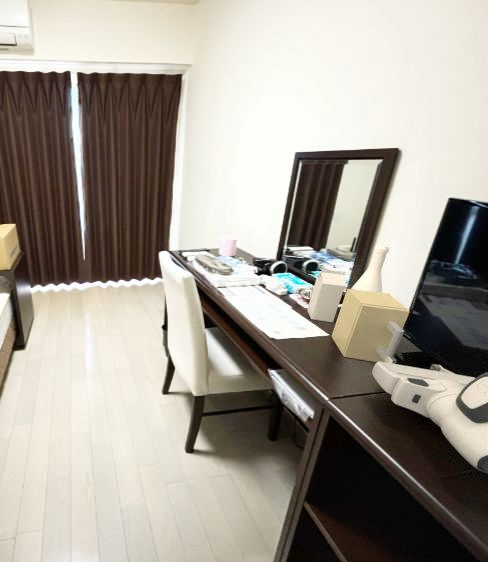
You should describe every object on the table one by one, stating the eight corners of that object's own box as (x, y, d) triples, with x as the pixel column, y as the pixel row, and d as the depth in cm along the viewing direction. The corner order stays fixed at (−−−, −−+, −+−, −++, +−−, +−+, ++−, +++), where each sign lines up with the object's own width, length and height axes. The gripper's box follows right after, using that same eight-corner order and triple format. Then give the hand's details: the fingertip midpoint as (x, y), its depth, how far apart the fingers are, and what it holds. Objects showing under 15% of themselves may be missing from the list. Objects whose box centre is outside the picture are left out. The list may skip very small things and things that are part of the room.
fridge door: (396, 375, 86) (421, 320, 79) (350, 367, 89) (371, 313, 82) (385, 362, 91) (407, 309, 84) (343, 355, 94) (361, 303, 88)
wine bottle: (354, 317, 117) (381, 241, 106) (377, 330, 109) (410, 249, 97) (333, 318, 116) (358, 242, 104) (355, 332, 107) (385, 250, 96)
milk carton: (332, 323, 113) (348, 275, 106) (311, 319, 115) (325, 272, 108) (327, 314, 119) (341, 268, 112) (306, 311, 121) (319, 266, 114)
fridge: (384, 362, 91) (407, 309, 85) (342, 354, 95) (361, 303, 88) (369, 342, 101) (388, 293, 94) (331, 336, 104) (347, 288, 97)
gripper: (519, 401, 61) (469, 360, 73) (395, 379, 66) (368, 344, 78) (503, 425, 63) (457, 381, 75) (385, 401, 69) (360, 364, 81)
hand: (411, 362), depth 77 cm, fingers open, 8 cm apart
